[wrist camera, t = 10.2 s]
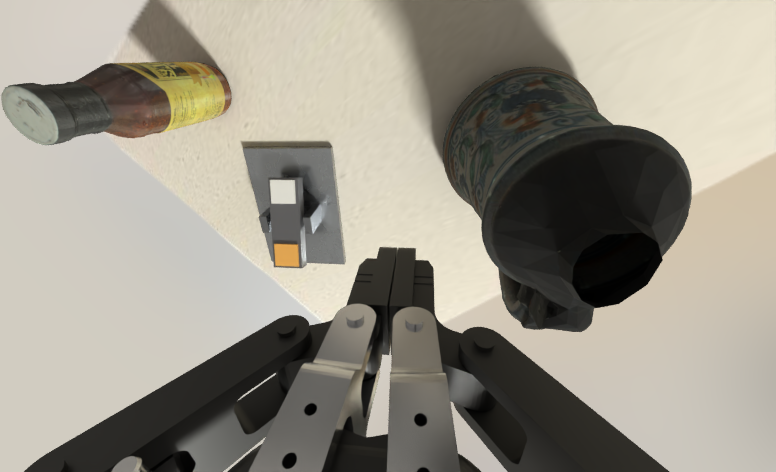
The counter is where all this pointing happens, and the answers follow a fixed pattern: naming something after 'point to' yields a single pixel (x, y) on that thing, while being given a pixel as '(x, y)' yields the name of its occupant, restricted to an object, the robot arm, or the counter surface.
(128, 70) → the sauce bottle
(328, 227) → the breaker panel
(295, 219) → the lever
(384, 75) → the counter surface
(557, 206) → the beer stein
